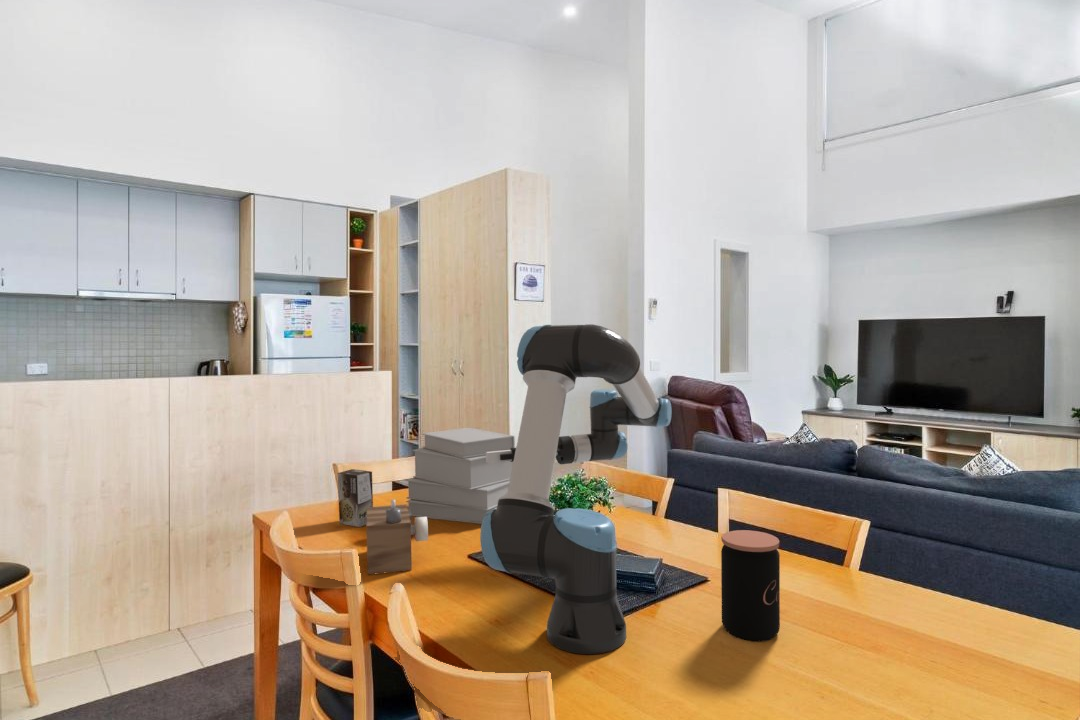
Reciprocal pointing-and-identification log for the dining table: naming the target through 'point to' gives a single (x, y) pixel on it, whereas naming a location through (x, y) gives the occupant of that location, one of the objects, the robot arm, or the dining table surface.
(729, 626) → the coffee jar
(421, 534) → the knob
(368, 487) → the coffee box
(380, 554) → the block
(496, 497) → the book stack
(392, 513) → the potentiometer
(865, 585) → the dining table surface
